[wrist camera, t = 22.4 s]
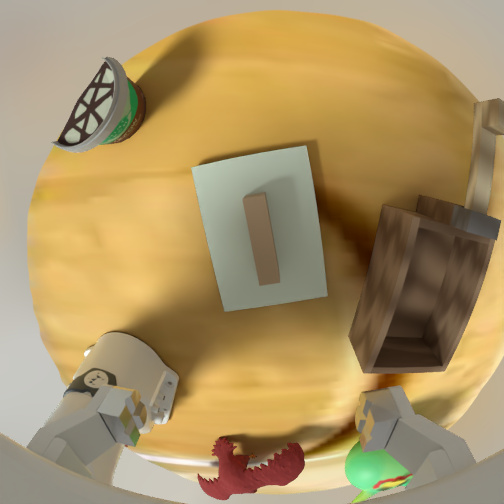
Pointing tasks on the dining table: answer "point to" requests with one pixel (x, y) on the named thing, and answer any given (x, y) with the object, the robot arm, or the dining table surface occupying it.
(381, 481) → the toy bird
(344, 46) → the dining table surface
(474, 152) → the wooden key
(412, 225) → the toolbox
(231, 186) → the toolbox lid
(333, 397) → the dining table surface
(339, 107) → the dining table surface
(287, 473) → the red toy dinosaur
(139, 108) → the food container
